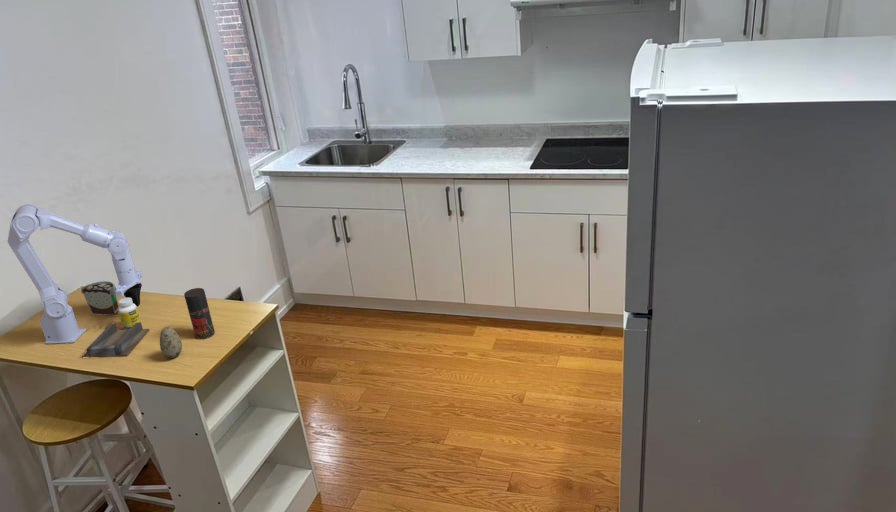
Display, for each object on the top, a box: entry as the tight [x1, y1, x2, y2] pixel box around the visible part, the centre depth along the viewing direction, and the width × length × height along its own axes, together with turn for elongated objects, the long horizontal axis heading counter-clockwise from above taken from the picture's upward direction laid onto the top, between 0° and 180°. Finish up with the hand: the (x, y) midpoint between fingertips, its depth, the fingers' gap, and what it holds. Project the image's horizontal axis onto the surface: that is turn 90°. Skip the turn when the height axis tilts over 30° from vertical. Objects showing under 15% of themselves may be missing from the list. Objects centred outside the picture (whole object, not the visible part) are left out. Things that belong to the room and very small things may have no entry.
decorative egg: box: [159, 326, 183, 358], centre depth 196 cm, size 6×6×10 cm
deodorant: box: [183, 287, 216, 340], centre depth 205 cm, size 6×6×15 cm
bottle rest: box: [82, 322, 150, 358], centre depth 206 cm, size 14×15×3 cm
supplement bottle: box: [117, 297, 142, 330], centre depth 215 cm, size 5×5×10 cm
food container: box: [80, 280, 119, 316], centre depth 226 cm, size 12×6×10 cm, turn 77°
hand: (136, 305), depth 219 cm, fingers closed
